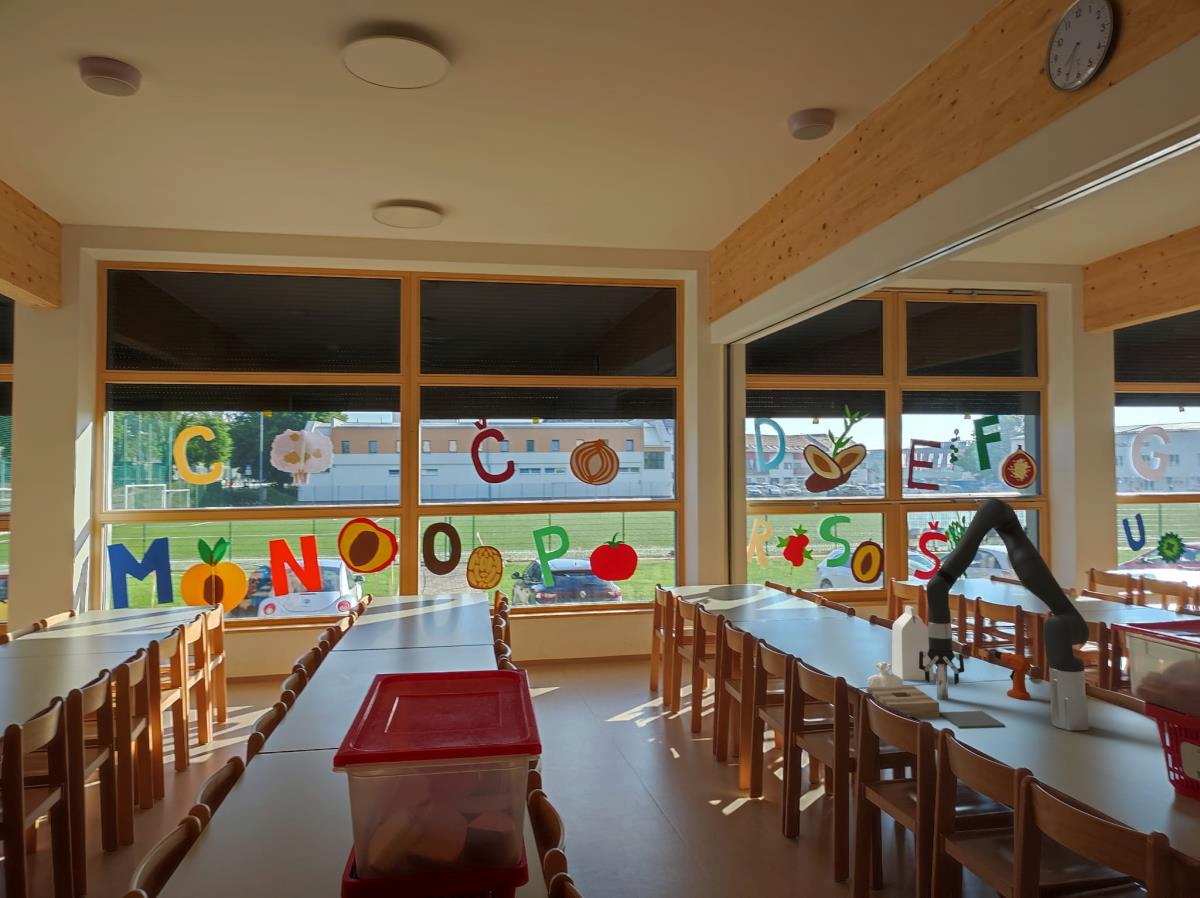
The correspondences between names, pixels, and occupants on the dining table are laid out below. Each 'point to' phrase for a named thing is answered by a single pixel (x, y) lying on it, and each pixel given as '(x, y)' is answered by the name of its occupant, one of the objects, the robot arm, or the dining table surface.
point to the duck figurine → (884, 677)
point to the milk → (909, 646)
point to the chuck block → (906, 700)
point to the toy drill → (1015, 673)
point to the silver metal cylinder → (941, 681)
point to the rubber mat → (971, 719)
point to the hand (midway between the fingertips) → (942, 683)
